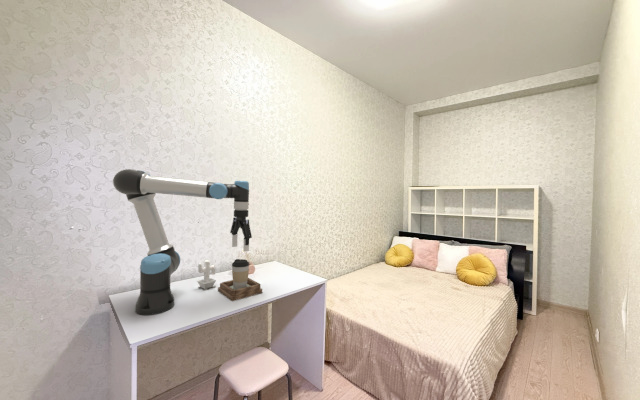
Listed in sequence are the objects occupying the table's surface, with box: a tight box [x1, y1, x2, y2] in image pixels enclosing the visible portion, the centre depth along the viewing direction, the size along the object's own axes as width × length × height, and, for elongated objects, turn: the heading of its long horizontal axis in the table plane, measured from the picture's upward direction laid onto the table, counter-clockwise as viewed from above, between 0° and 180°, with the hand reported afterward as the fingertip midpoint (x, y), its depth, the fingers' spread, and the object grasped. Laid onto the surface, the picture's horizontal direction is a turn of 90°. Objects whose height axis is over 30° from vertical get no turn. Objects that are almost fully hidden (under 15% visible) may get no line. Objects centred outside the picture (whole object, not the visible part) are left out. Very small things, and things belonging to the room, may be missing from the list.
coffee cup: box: [231, 258, 250, 290], centre depth 141 cm, size 9×9×15 cm
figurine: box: [196, 259, 217, 290], centre depth 146 cm, size 7×9×15 cm
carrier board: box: [217, 277, 263, 302], centre depth 141 cm, size 17×17×4 cm
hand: (240, 248), depth 141 cm, fingers open, 13 cm apart
